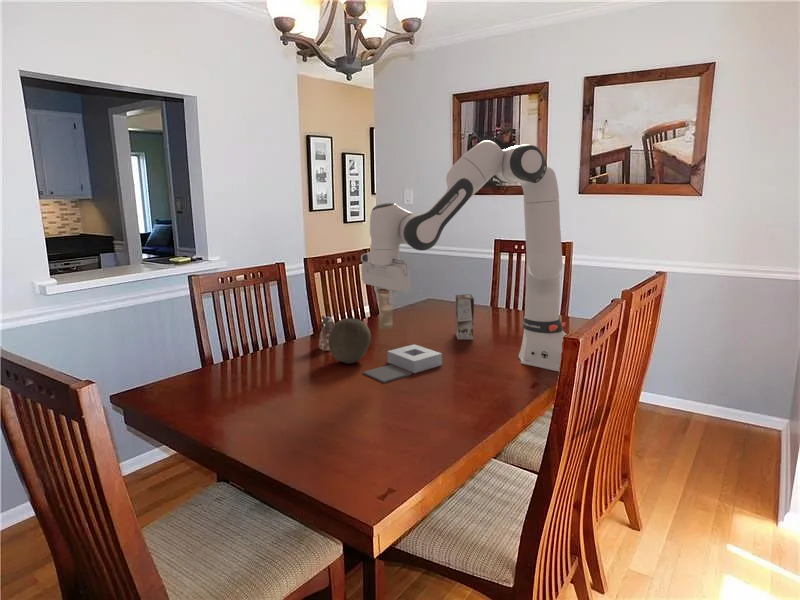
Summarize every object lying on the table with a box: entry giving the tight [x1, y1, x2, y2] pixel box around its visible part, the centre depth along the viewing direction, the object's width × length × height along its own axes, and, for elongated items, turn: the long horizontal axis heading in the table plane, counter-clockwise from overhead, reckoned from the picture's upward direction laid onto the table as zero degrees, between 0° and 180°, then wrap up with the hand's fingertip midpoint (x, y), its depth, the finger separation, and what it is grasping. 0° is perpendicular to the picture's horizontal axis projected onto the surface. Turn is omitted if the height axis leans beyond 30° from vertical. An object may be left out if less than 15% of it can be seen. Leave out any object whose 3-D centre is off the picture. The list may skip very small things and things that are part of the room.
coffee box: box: [455, 293, 475, 340], centre depth 209 cm, size 9×6×16 cm
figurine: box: [318, 315, 335, 351], centre depth 198 cm, size 7×7×12 cm
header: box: [386, 343, 443, 374], centre depth 179 cm, size 14×12×4 cm
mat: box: [362, 363, 413, 384], centre depth 170 cm, size 11×11×1 cm
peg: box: [378, 288, 394, 330], centre depth 166 cm, size 4×4×12 cm
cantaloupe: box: [329, 317, 372, 365], centre depth 181 cm, size 14×14×15 cm
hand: (385, 302), depth 165 cm, fingers closed on peg, 4 cm apart
